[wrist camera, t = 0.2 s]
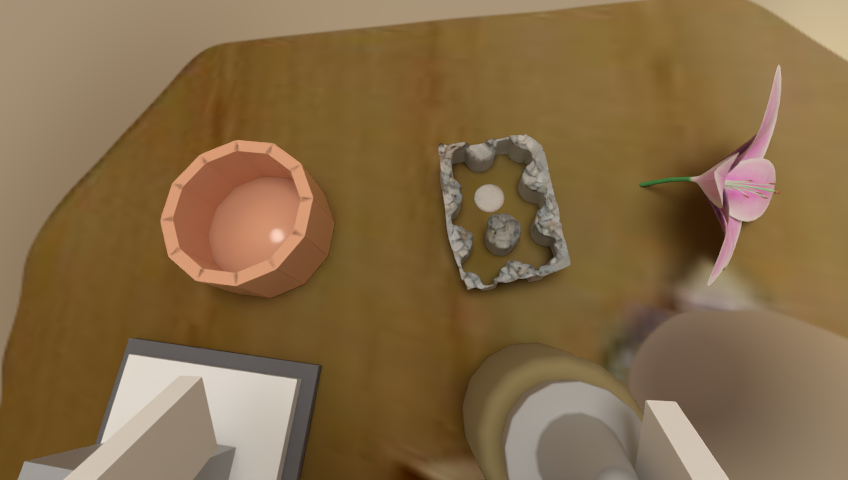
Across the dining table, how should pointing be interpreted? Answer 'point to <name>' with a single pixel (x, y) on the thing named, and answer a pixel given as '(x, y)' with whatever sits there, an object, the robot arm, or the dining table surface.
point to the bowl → (247, 220)
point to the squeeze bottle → (550, 417)
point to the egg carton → (490, 198)
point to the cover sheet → (230, 412)
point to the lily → (739, 182)
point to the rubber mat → (248, 363)
